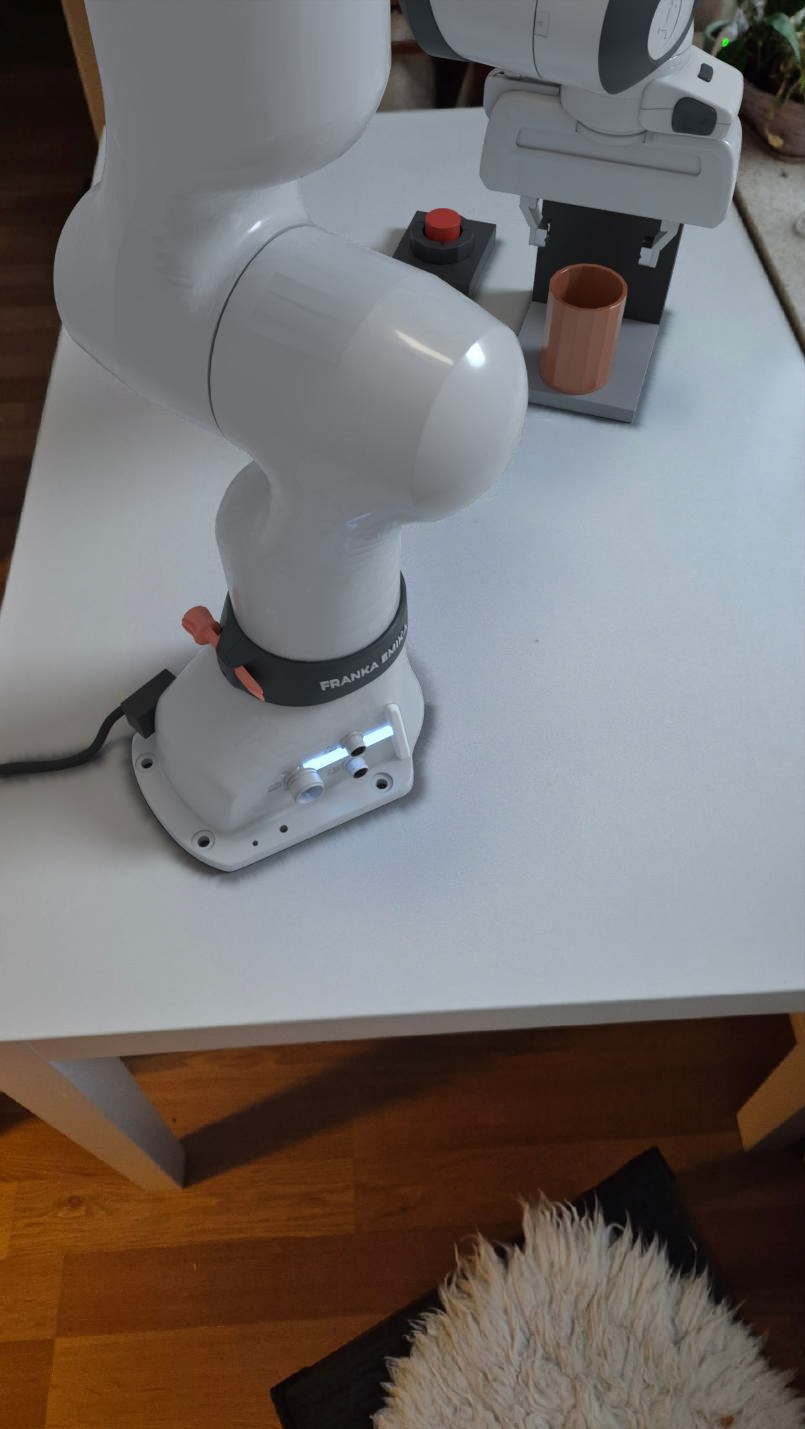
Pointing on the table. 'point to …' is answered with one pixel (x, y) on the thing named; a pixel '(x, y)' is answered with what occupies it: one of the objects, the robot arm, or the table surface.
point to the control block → (449, 252)
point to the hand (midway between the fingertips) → (592, 252)
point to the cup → (581, 327)
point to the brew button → (442, 225)
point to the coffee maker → (619, 248)
